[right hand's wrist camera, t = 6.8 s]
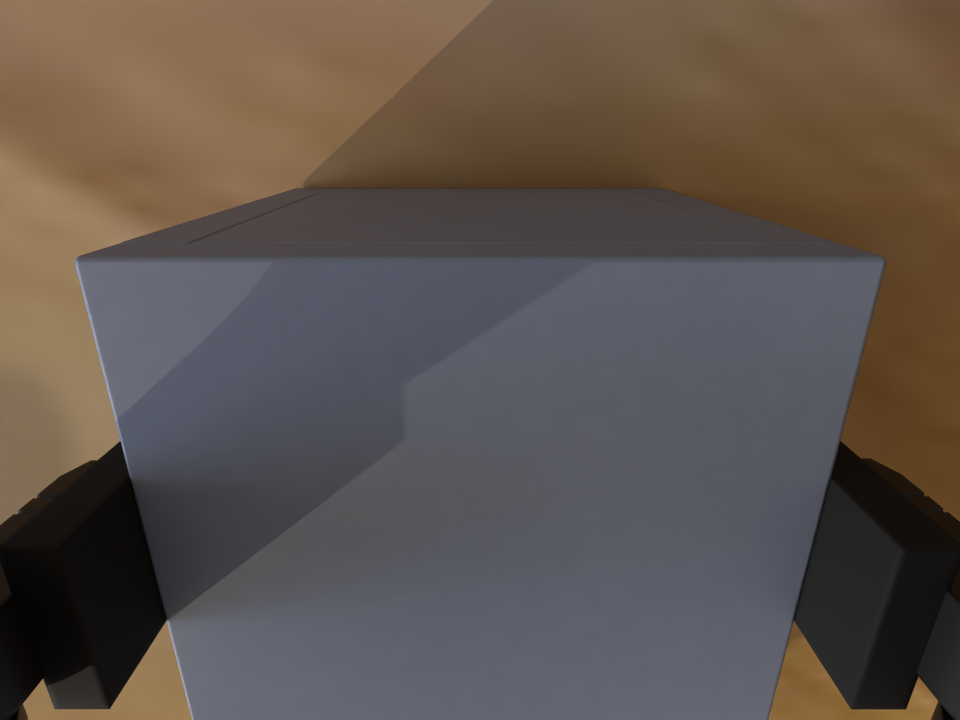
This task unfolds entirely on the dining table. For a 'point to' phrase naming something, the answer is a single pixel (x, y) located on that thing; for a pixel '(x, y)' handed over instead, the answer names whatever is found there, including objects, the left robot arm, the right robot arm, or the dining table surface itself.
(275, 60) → the dining table surface
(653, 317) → the cabinet
